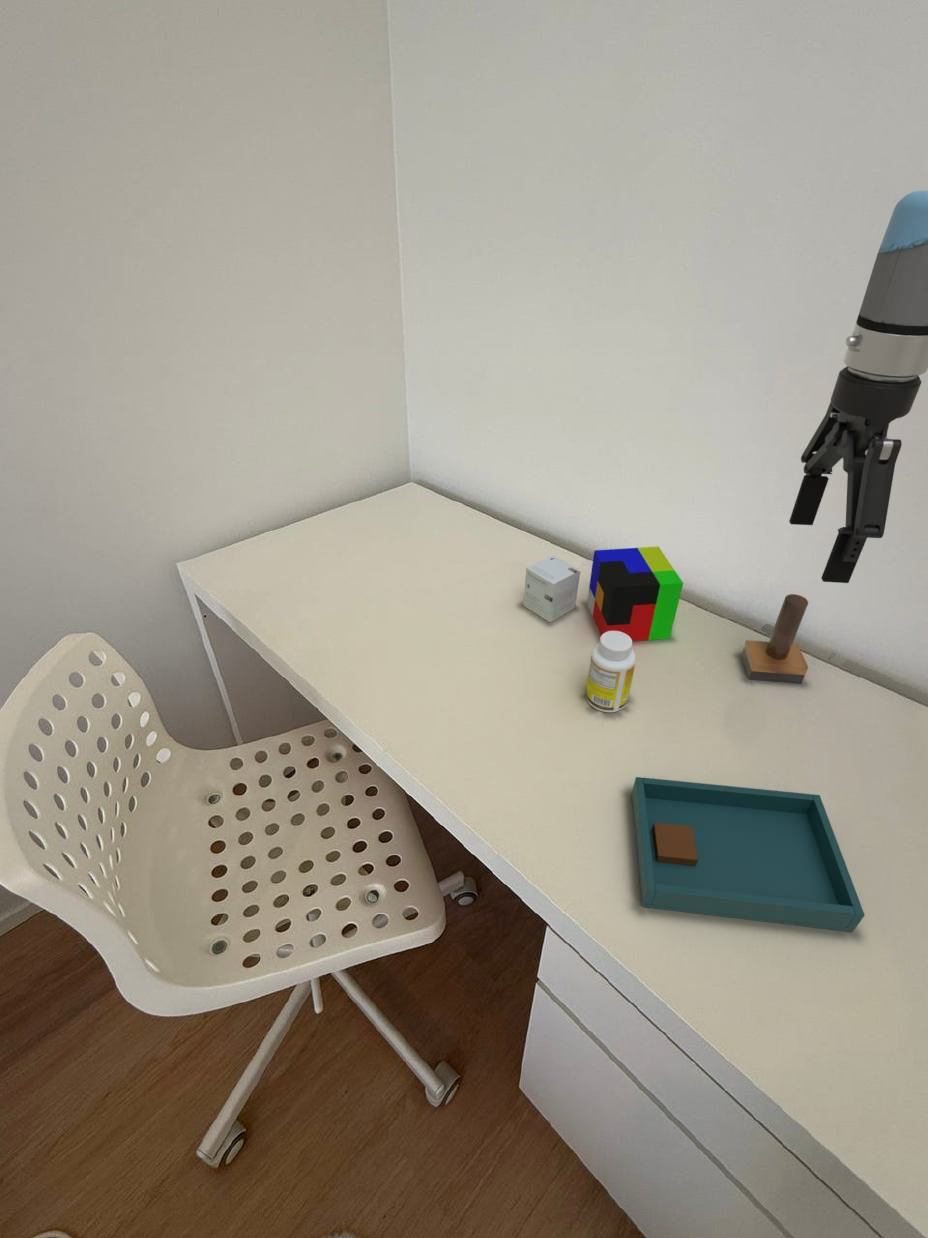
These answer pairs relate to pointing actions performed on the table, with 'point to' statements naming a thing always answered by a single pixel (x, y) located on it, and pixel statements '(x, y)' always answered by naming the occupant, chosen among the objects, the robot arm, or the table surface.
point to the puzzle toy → (634, 592)
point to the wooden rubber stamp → (779, 647)
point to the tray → (745, 855)
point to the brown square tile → (674, 844)
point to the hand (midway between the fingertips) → (816, 550)
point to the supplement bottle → (611, 672)
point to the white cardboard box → (551, 588)
